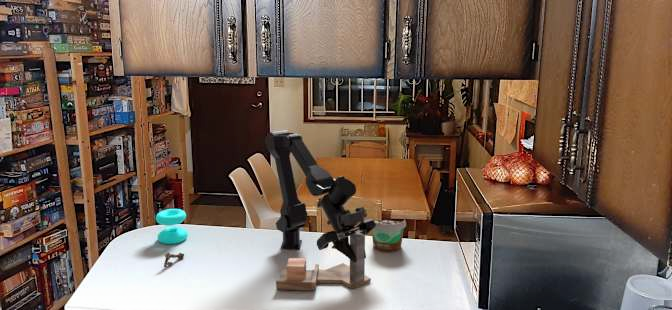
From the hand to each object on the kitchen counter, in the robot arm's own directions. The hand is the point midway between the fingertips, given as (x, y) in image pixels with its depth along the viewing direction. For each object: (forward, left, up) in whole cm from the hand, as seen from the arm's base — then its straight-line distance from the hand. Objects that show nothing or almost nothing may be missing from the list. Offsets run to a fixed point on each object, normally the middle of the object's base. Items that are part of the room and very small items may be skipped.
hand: (360, 260), depth 143 cm
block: (-1, -18, -7) cm, 20 cm away
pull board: (-2, -13, -8) cm, 15 cm away
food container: (-24, +9, -8) cm, 27 cm away
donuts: (-29, -65, -8) cm, 72 cm away
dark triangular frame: (-11, -58, -8) cm, 60 cm away
